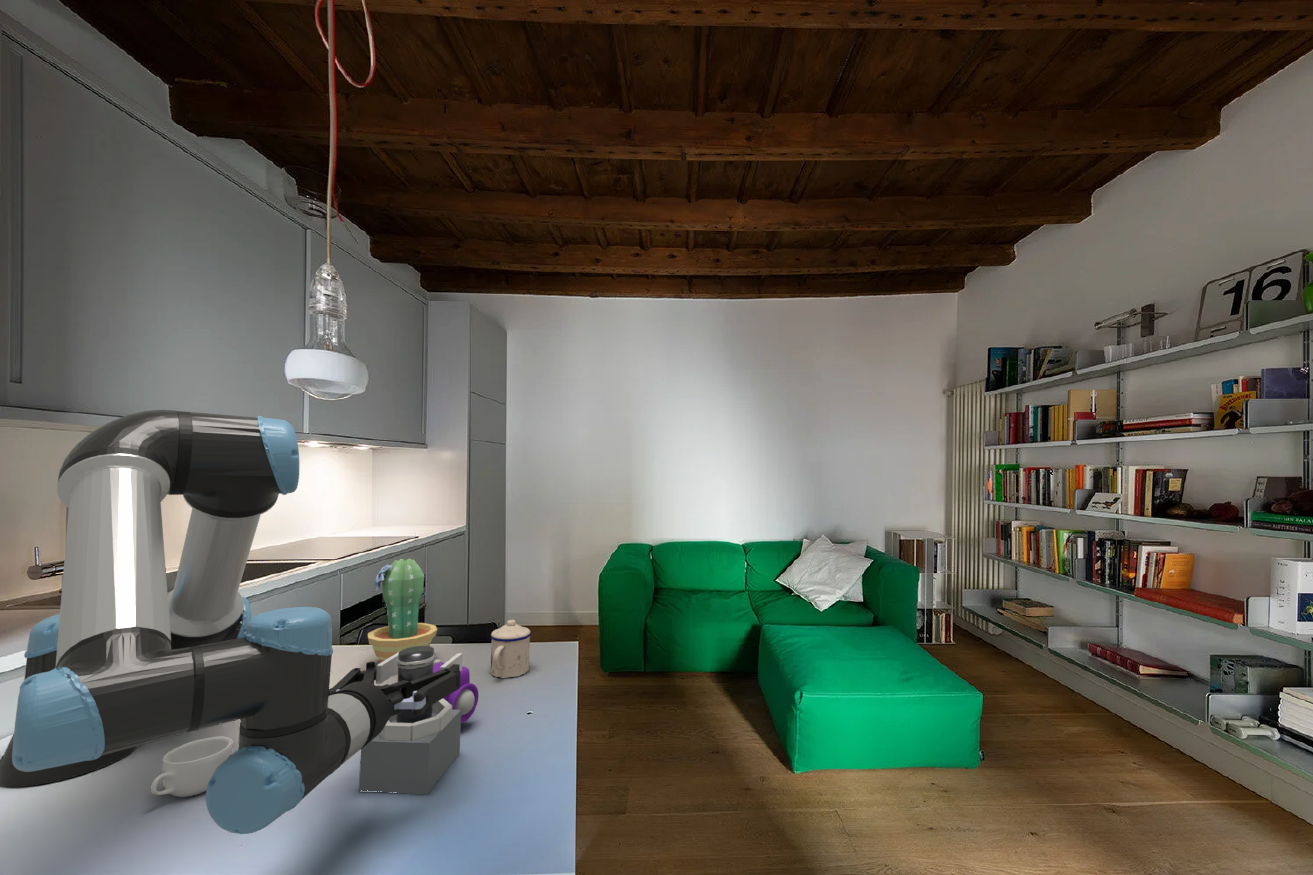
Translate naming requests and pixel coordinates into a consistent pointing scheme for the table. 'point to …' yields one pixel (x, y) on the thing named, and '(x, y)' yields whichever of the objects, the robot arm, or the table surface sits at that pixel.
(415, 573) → the potted cactus
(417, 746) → the camera body block
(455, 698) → the toy camera
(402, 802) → the table surface
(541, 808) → the table surface
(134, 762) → the table surface
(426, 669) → the lens
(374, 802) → the table surface
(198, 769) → the teacup
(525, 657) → the teacup with lid
